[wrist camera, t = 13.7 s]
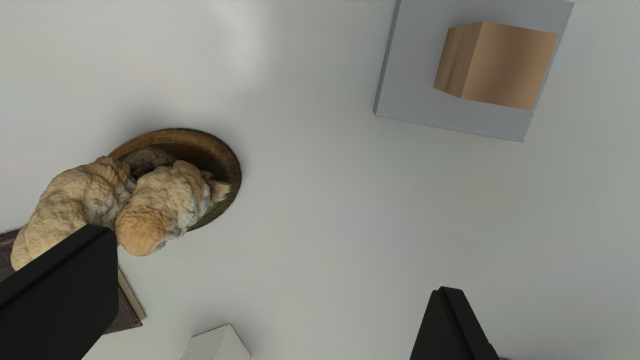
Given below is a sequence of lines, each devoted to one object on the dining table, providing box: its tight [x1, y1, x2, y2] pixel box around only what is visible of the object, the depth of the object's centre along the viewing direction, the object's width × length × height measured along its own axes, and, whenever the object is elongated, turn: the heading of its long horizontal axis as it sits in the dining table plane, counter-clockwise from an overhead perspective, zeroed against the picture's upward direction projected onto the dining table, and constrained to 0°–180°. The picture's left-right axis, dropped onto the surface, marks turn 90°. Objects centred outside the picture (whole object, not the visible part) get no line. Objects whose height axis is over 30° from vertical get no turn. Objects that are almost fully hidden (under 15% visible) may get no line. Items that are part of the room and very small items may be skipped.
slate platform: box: [373, 0, 574, 143], centre depth 33 cm, size 14×12×3 cm
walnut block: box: [433, 21, 559, 111], centre depth 28 cm, size 5×5×8 cm
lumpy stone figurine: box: [10, 128, 241, 271], centre depth 33 cm, size 18×12×17 cm, turn 111°
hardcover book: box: [0, 229, 145, 335], centre depth 46 cm, size 16×23×2 cm
